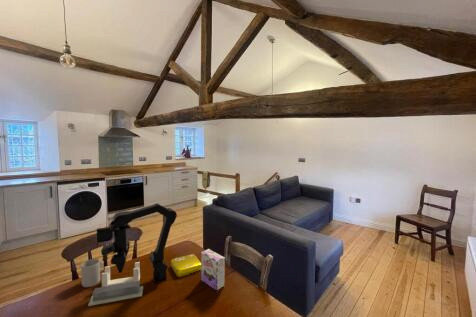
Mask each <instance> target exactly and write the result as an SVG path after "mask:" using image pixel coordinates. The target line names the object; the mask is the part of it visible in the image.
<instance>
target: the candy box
mask: <svg viewBox="0 0 476 317" xmlns="http://www.w3.org/2000/svg"><path fill="white" fill-rule="evenodd" d="M200 256H201V257H200V262H201V270H200V280H202V281H201V282H203V283H204V282H205V283H204V284H206V285H207V284H208V285H209V286H208V285H207V286H208V287H210V286H211V287H212V288H211V287H210V288H211V289H213V288H214V289H215V290H218V289H220V288H221V287H223V286H224V287H225V279H226V278H225V277H226V276H225V275H226V274H225V273H226V272H225V270H226V269H225V267H226V257H225V256H223V255H221V254H219V253H217V252H215V251H213V250H212V249H210V248H208V249H207V248H206V250H203V251H201V252H200ZM214 289H213V290H214ZM215 290H214V291H215ZM220 290H221V289H220ZM218 291H219V290H218Z"/></svg>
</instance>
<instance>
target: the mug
mask: <svg viewBox="0 0 476 317" xmlns="http://www.w3.org/2000/svg"><path fill="white" fill-rule="evenodd" d="M102 267H103V262H102V260H101V259H98V258H91V259H88V260H85V261H83V262H82V263H81V264H80V268H81V269H80V273H81V274H80V275H81V276H80V277H81V286H82V287H83V288H90V287H93V286H96V285H97V284H99V283H100V281H101V271H102V269H103V268H102Z"/></svg>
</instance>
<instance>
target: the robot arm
mask: <svg viewBox="0 0 476 317" xmlns="http://www.w3.org/2000/svg"><path fill="white" fill-rule="evenodd" d="M156 213H158V214H160V215H162V227H161V230H160V233H159V236H158V241H157V244H156V247H155V250H152V251H150V256H149V257H148V259H149V263H150V264H151V266H152V267H153V268H152V269H153V272H152V274H153V276H152V280H153V283H161V282H165V281H167V279H168V278H167V276H168V275H167V274H168V273H167V270H168V265H167V263H166V261H165V249H166V244H167V242H168V239H169V238H168V237H169V235H170V230H171V227H172V226H173V224H174V223H175V221H176V219H177V217H178V214H177V212H176V211H175V210H174V209H172V208H171V207H168V208H167V207H165V206H163V205H161V204H159V203H154V204H152V205H151V204H150V205H148V206H144V207H142V208H138V209H135V210H131V211H129V210H127V211H119V212H115V213H114V215H113V217H112V221H110V223H109V224H108V226H105V227H100V228H96V243H97V244H100V243H105V242H110V241H111V240H112V239H113V242H110V243H109V244H107V245H104V246H103V247H101V250H100V252H101V254H100V255H101V256H102V257H106V256H107V255H109V254H111V253H112V254H113V255H112V257H111V259H110V264H111V265H115V266H116V268H117V271H118V273H119V274H122V272H123V270H124V268H125V264H126V263H127V262H126V261H127V256H128V253H129V251H130V247H131V241H129V240H128V232H127V231H128V229H131V228H132V227H131V225H130V224H129V223H131V222H132V221H134V220H137V219H140V218H142V217H146V216H149V215H153V214H156Z"/></svg>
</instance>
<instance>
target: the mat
mask: <svg viewBox="0 0 476 317" xmlns="http://www.w3.org/2000/svg"><path fill="white" fill-rule="evenodd" d="M143 291H144V285H141V286H140V289H139V293H137V294H132V295H126V296H121V297H115V298H110V299H104V300H99V301H93V294H92V296H91V297H90V300H89V302H88V304H87V305H88V307H91V306H95V305H100V304H101V305H102V304H108V303H113V302H118V301H122V300H128V299H134V298H139V297H143V293H144V292H143Z"/></svg>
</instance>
